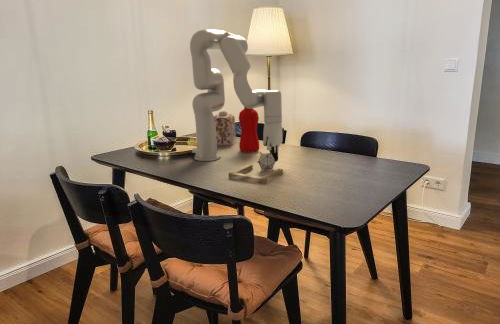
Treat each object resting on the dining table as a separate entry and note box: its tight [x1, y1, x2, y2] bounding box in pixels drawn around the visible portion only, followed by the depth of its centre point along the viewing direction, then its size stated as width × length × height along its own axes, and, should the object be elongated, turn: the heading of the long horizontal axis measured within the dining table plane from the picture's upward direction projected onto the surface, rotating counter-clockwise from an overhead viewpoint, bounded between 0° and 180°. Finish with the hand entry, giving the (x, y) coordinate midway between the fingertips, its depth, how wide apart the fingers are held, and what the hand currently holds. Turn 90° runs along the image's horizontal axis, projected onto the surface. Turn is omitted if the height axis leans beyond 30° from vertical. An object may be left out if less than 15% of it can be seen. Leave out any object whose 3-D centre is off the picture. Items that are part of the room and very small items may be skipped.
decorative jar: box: [213, 110, 236, 146], centre depth 226 cm, size 12×12×18 cm
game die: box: [256, 151, 278, 172], centre depth 173 cm, size 9×8×10 cm
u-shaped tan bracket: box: [228, 163, 284, 185], centre depth 167 cm, size 17×16×2 cm
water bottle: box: [238, 106, 260, 154], centre depth 206 cm, size 9×11×25 cm
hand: (274, 160), depth 177 cm, fingers closed
